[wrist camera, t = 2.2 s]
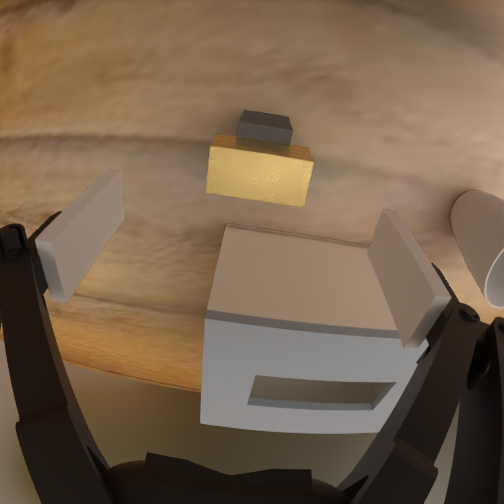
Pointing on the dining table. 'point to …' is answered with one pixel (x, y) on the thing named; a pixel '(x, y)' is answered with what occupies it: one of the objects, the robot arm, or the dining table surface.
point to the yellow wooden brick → (259, 170)
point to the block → (265, 127)
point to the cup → (482, 241)
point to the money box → (299, 337)
